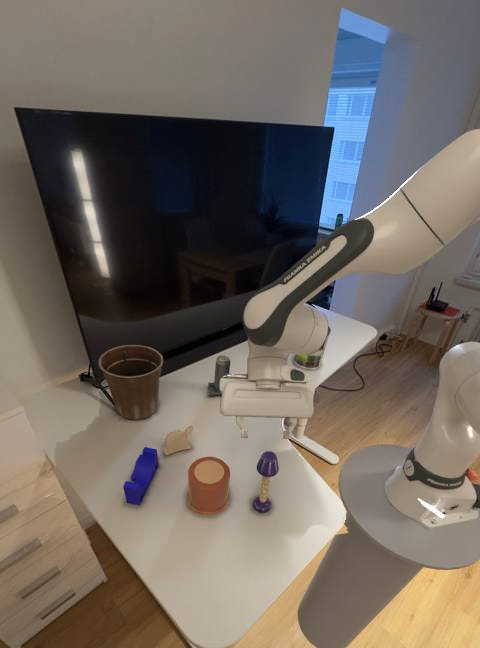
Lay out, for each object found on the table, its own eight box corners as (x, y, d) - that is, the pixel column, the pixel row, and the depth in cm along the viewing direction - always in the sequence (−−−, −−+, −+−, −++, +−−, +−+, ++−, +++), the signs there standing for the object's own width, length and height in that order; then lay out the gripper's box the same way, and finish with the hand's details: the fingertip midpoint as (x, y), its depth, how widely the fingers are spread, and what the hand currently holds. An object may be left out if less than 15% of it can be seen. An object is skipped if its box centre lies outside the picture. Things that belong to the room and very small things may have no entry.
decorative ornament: (161, 445, 90) (159, 430, 87) (191, 437, 93) (191, 423, 90) (165, 455, 88) (164, 440, 84) (196, 447, 91) (196, 433, 87)
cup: (228, 481, 83) (230, 455, 77) (229, 515, 76) (232, 489, 70) (188, 480, 82) (188, 454, 76) (186, 515, 75) (185, 489, 69)
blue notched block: (141, 462, 85) (138, 445, 81) (158, 465, 85) (156, 449, 81) (120, 501, 76) (116, 484, 72) (139, 505, 76) (136, 489, 72)
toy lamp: (252, 514, 77) (262, 465, 66) (247, 497, 80) (256, 448, 69) (273, 511, 78) (285, 462, 67) (267, 495, 81) (278, 446, 70)
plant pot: (158, 386, 109) (153, 340, 98) (173, 417, 99) (170, 370, 88) (104, 396, 103) (94, 349, 92) (114, 431, 93) (104, 382, 82)
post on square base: (229, 383, 114) (232, 351, 106) (236, 397, 108) (239, 364, 100) (202, 386, 111) (203, 353, 103) (208, 400, 106) (209, 367, 98)
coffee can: (309, 373, 123) (318, 337, 113) (288, 360, 128) (295, 325, 118) (326, 364, 128) (336, 329, 119) (305, 352, 133) (313, 318, 124)
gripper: (220, 370, 70) (218, 437, 70) (316, 374, 72) (315, 439, 72) (218, 375, 77) (217, 437, 76) (307, 379, 79) (307, 439, 78)
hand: (265, 438), depth 74 cm, fingers open, 8 cm apart
